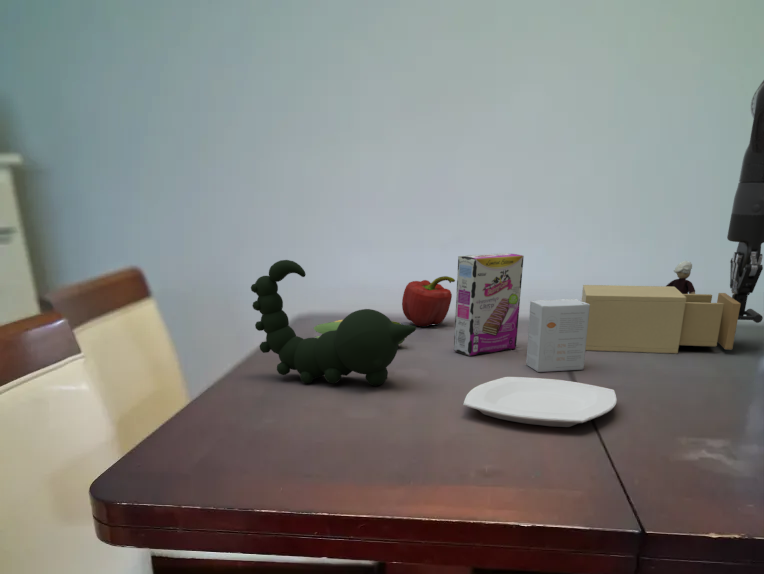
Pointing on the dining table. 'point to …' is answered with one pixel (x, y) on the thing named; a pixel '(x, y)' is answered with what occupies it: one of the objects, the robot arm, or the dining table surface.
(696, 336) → the drawer
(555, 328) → the small box
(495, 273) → the candy bar box
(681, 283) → the grandmother figurine
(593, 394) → the plate
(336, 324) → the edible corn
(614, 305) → the cabinet
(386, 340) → the toy figurine
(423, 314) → the vegetable
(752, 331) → the dining table surface
